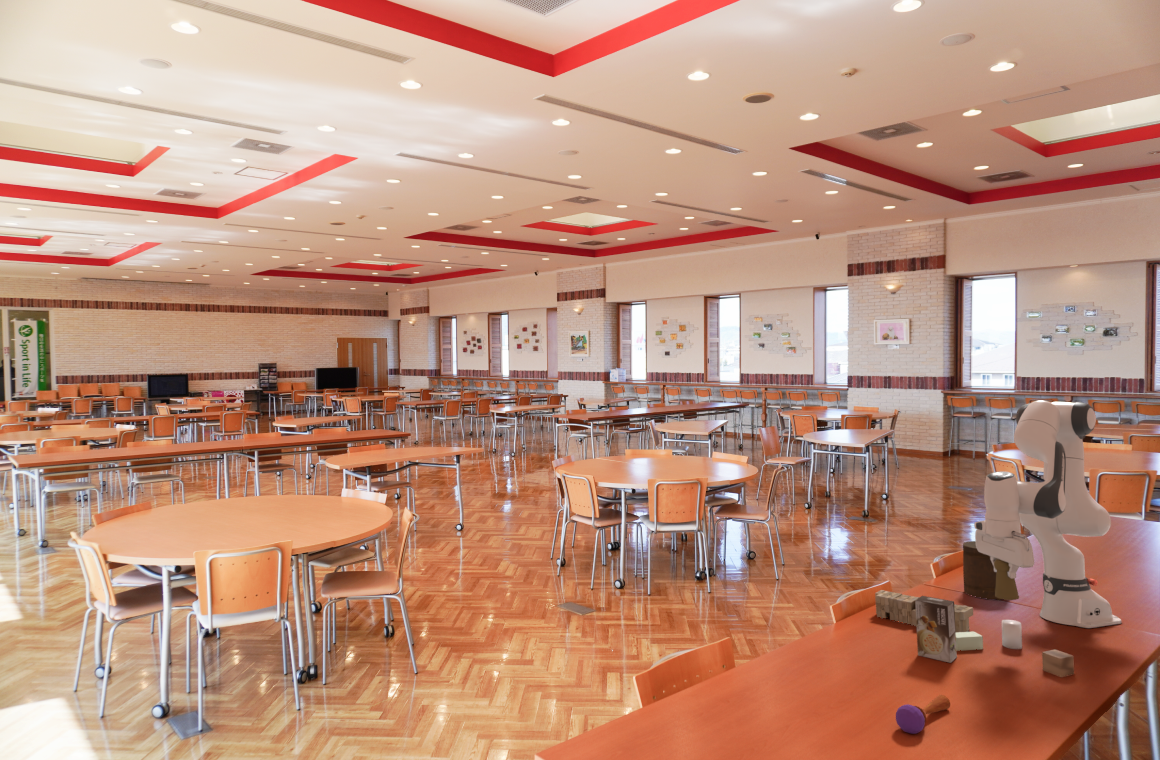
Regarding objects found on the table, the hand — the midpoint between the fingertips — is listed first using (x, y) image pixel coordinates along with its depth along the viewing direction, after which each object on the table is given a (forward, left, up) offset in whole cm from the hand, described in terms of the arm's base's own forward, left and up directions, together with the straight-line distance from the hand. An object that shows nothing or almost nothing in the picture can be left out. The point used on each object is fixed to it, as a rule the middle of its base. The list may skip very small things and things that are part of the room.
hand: (1004, 575), depth 201 cm
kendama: (+48, +37, -23) cm, 64 cm away
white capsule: (-4, -3, -22) cm, 23 cm away
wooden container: (-30, -51, -22) cm, 63 cm away
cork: (0, 0, -7) cm, 7 cm away
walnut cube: (-3, +16, -22) cm, 27 cm away
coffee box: (+22, +1, -22) cm, 31 cm away
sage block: (+10, -4, -22) cm, 25 cm away
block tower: (+11, -26, -23) cm, 36 cm away
